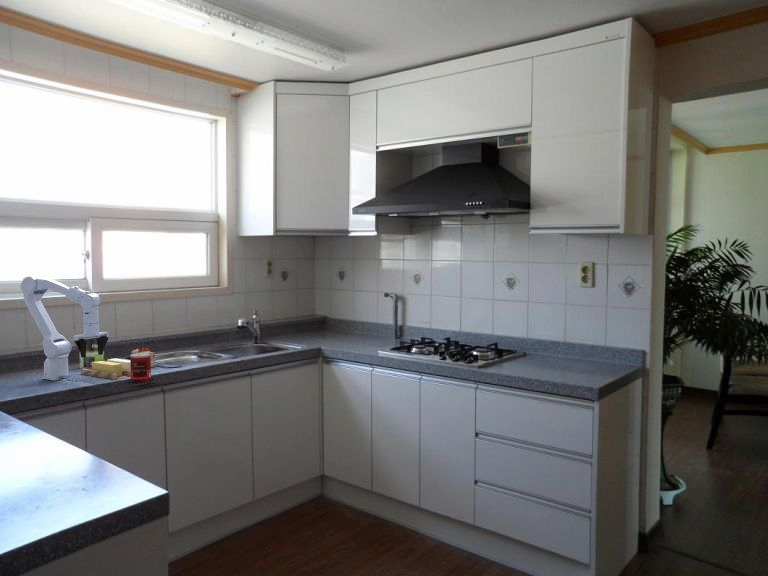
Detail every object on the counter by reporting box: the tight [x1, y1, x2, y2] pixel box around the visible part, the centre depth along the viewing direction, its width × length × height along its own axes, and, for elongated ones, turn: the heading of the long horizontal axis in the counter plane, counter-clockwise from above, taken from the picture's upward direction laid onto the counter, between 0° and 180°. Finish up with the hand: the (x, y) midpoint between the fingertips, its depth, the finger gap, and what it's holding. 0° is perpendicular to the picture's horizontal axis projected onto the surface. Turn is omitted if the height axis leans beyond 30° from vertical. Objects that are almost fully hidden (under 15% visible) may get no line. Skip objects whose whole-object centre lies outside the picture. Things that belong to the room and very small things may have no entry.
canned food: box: [129, 353, 152, 384], centre depth 244 cm, size 8×8×11 cm
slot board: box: [80, 368, 131, 380], centre depth 253 cm, size 22×16×4 cm
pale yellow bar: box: [91, 360, 122, 377], centre depth 250 cm, size 14×4×5 cm, turn 60°
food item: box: [130, 346, 157, 368], centre depth 271 cm, size 14×8×10 cm, turn 46°
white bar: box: [106, 358, 131, 371], centre depth 256 cm, size 14×4×5 cm, turn 60°
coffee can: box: [79, 336, 105, 369], centre depth 275 cm, size 10×10×14 cm
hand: (92, 355), depth 247 cm, fingers open, 7 cm apart
